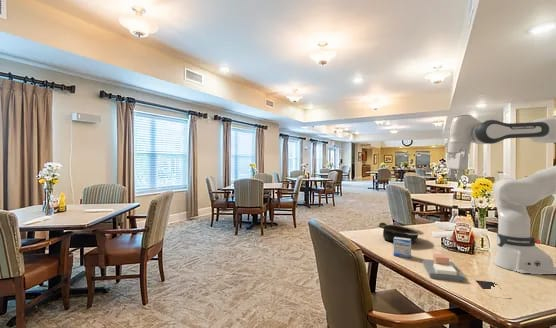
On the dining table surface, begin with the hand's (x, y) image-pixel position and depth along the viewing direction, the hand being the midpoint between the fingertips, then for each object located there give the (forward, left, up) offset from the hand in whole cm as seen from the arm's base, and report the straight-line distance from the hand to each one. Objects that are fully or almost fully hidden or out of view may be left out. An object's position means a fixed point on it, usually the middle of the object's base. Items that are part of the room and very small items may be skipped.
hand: (455, 178), depth 134 cm
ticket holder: (+9, +17, -39) cm, 43 cm away
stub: (+9, +15, -37) cm, 41 cm away
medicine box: (+23, 0, -39) cm, 45 cm away
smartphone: (-5, +30, -39) cm, 50 cm away
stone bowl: (+21, -29, -39) cm, 53 cm away
